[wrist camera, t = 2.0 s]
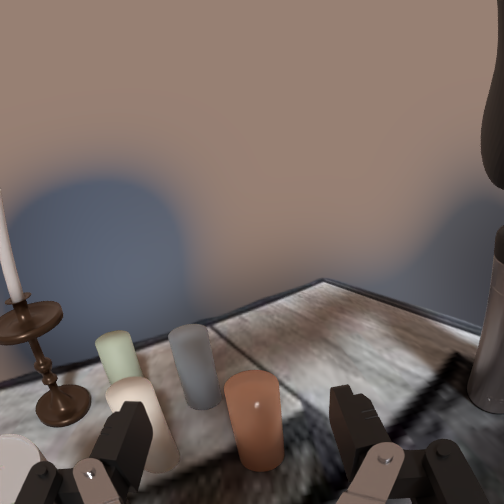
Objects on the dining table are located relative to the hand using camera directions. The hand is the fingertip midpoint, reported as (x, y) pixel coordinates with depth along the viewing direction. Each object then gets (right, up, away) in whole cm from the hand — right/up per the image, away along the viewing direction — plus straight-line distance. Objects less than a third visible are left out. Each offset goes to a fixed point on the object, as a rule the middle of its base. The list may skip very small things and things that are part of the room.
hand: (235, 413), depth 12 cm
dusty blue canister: (-6, -12, +25) cm, 29 cm away
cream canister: (-9, -15, +15) cm, 24 cm away
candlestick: (-26, -15, +23) cm, 38 cm away
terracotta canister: (+2, -14, +15) cm, 21 cm away
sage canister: (-15, -13, +25) cm, 32 cm away
